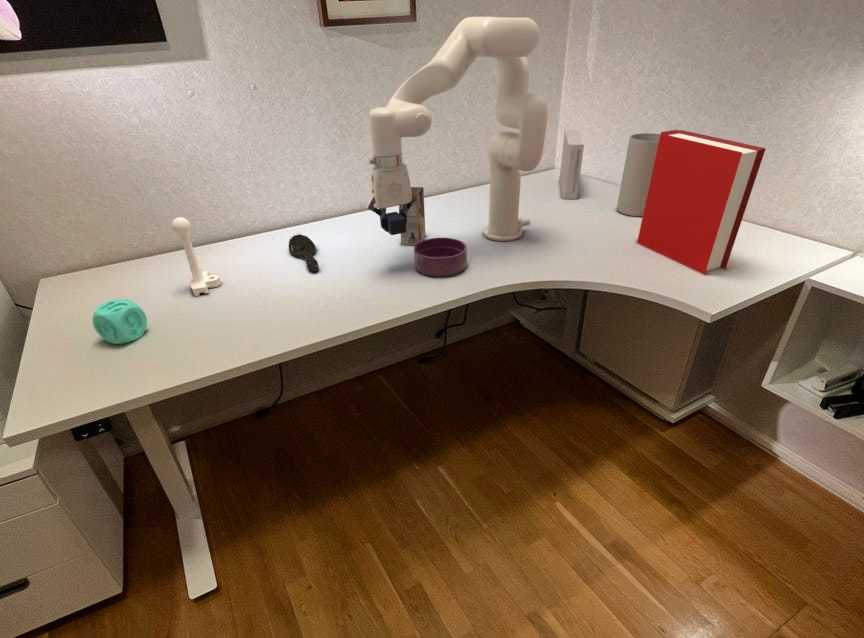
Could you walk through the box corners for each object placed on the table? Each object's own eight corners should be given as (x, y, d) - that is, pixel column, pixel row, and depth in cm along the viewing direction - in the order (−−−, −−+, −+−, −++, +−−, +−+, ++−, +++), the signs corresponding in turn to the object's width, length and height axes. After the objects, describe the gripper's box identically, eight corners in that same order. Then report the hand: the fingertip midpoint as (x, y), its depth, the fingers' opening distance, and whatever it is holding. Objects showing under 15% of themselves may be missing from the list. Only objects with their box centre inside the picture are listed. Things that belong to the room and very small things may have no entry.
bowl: (452, 252, 156) (452, 234, 153) (475, 271, 145) (476, 251, 141) (407, 262, 151) (406, 243, 148) (427, 282, 140) (427, 262, 137)
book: (725, 268, 141) (765, 148, 123) (704, 274, 139) (742, 152, 120) (653, 236, 162) (678, 129, 143) (634, 241, 159) (657, 132, 141)
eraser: (397, 224, 144) (396, 210, 142) (406, 232, 139) (405, 218, 137) (382, 227, 143) (381, 213, 141) (391, 235, 138) (390, 221, 135)
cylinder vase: (609, 209, 184) (621, 136, 170) (635, 203, 188) (649, 131, 174) (633, 219, 175) (649, 142, 160) (660, 213, 179) (678, 138, 164)
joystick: (195, 279, 146) (172, 212, 134) (222, 276, 148) (202, 208, 136) (191, 297, 137) (166, 226, 126) (219, 292, 139) (198, 222, 127)
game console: (561, 199, 195) (567, 144, 184) (558, 179, 217) (564, 129, 206) (576, 199, 194) (584, 144, 183) (572, 179, 216) (578, 129, 205)
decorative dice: (126, 325, 126) (113, 296, 121) (152, 329, 124) (140, 300, 119) (100, 342, 120) (86, 312, 115) (127, 346, 118) (114, 317, 113)
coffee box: (407, 234, 170) (404, 186, 161) (426, 235, 169) (424, 186, 160) (400, 244, 163) (397, 195, 153) (420, 245, 162) (417, 195, 152)
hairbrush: (299, 267, 144) (284, 234, 162) (302, 278, 146) (286, 244, 165) (328, 261, 147) (309, 229, 165) (329, 272, 149) (311, 240, 167)
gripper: (361, 169, 125) (370, 239, 135) (423, 158, 130) (427, 226, 141) (352, 162, 130) (361, 230, 141) (412, 152, 136) (416, 218, 146)
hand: (394, 227), depth 141 cm, fingers closed on eraser, 4 cm apart
